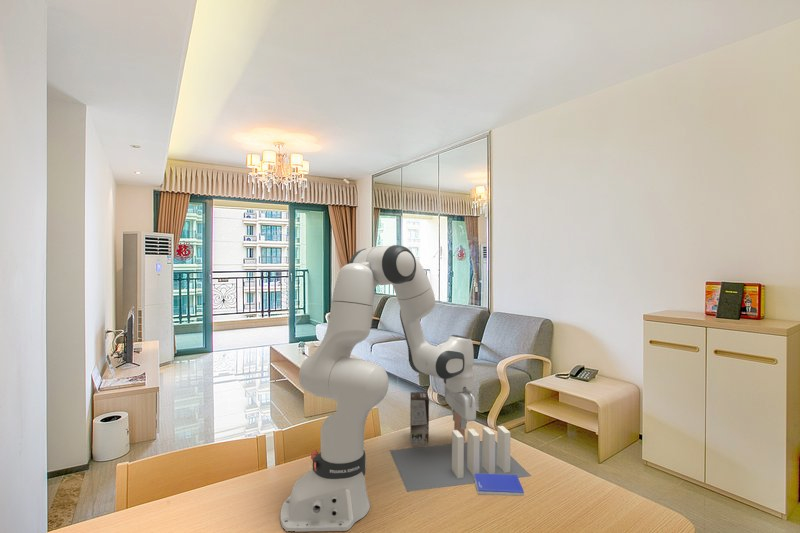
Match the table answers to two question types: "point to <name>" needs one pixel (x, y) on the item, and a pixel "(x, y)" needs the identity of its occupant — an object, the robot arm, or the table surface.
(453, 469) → the domino
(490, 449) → the domino
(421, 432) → the coffee box
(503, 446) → the domino
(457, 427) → the tile
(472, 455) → the domino
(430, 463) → the mat
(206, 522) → the table surface
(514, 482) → the hard drive
